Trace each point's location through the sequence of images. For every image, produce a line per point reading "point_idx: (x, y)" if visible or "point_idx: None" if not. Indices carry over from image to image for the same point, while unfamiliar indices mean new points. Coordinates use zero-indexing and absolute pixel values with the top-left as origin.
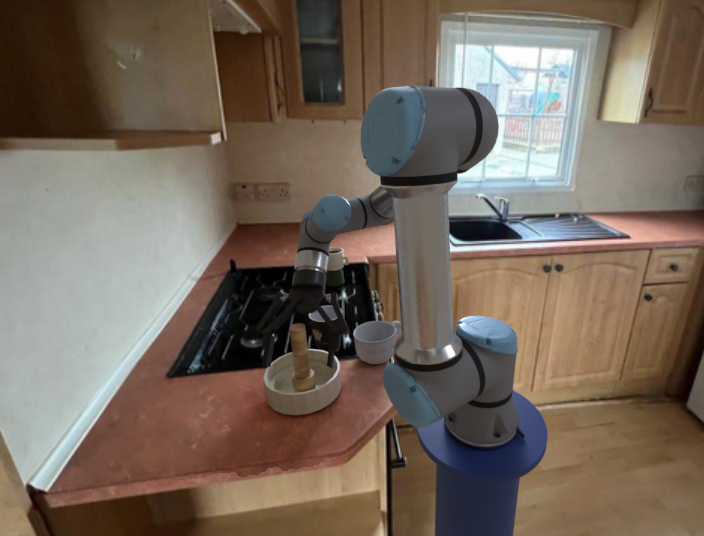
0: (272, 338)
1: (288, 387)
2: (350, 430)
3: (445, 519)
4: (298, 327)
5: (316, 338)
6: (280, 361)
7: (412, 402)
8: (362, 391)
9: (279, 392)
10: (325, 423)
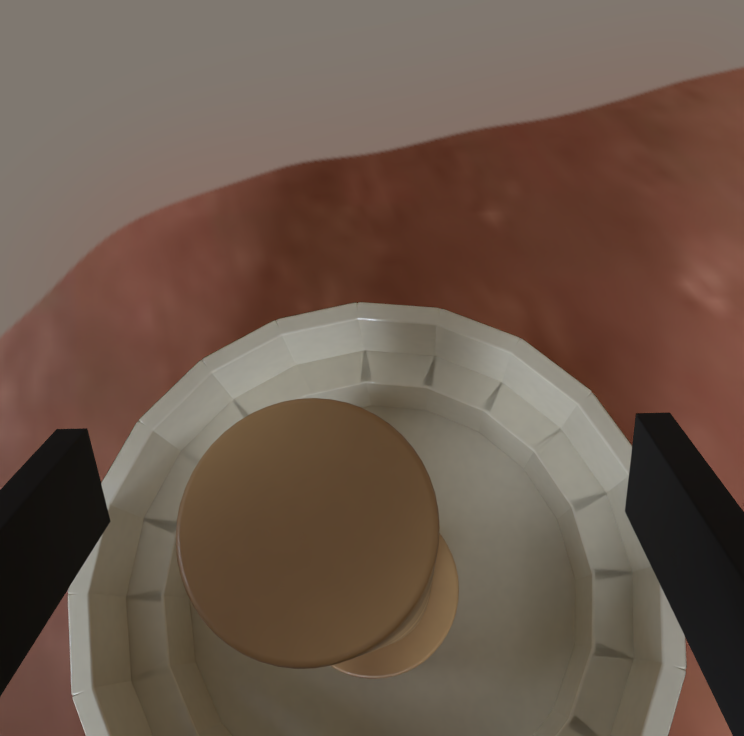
0: (740, 653)
1: (497, 603)
2: (83, 313)
3: None
4: (280, 507)
5: None
6: None
7: None
8: None
9: (452, 318)
10: (208, 347)
